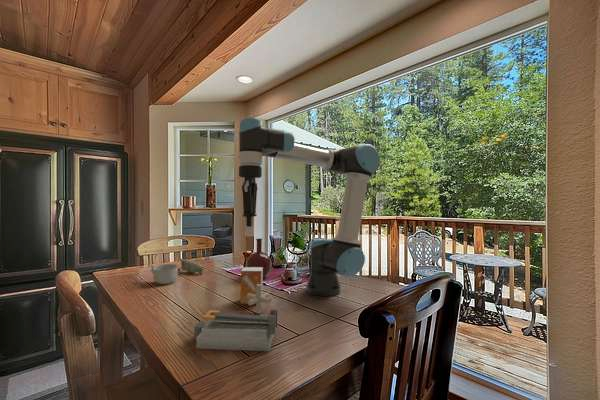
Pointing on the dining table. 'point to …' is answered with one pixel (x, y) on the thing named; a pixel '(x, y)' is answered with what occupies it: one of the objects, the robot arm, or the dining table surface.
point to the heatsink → (236, 334)
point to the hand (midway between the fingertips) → (249, 235)
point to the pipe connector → (258, 298)
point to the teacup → (164, 273)
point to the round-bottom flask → (260, 259)
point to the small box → (250, 282)
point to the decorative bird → (191, 266)
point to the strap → (234, 316)
